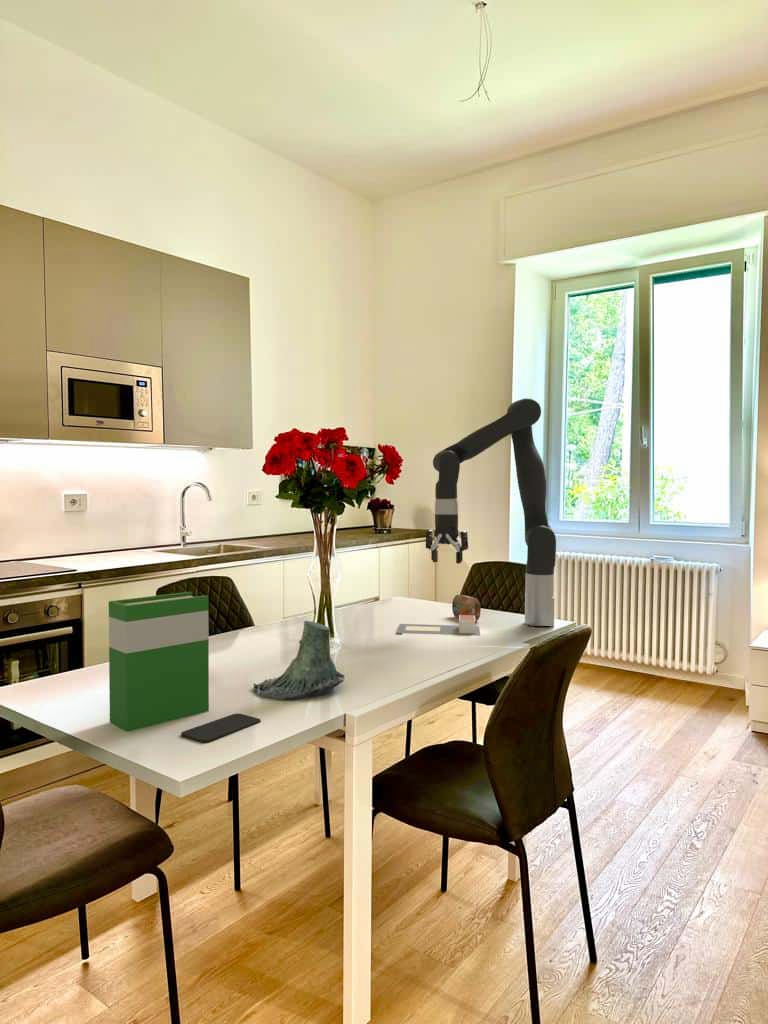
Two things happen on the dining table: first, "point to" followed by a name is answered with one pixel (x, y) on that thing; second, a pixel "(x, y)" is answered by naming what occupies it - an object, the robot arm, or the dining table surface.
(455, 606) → the tin
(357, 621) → the dining table surface
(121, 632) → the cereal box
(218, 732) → the phone
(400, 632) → the mat
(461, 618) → the card deck
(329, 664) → the tree stump
